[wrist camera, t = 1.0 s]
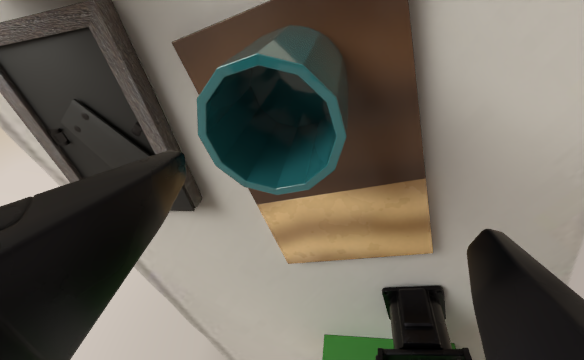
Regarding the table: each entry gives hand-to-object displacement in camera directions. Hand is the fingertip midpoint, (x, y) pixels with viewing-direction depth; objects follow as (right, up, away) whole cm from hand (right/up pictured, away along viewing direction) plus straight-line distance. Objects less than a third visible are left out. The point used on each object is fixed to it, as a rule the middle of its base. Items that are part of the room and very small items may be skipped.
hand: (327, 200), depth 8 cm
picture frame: (-18, +6, +18) cm, 26 cm away
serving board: (+2, +3, +16) cm, 16 cm away
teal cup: (-1, +7, +11) cm, 13 cm away
